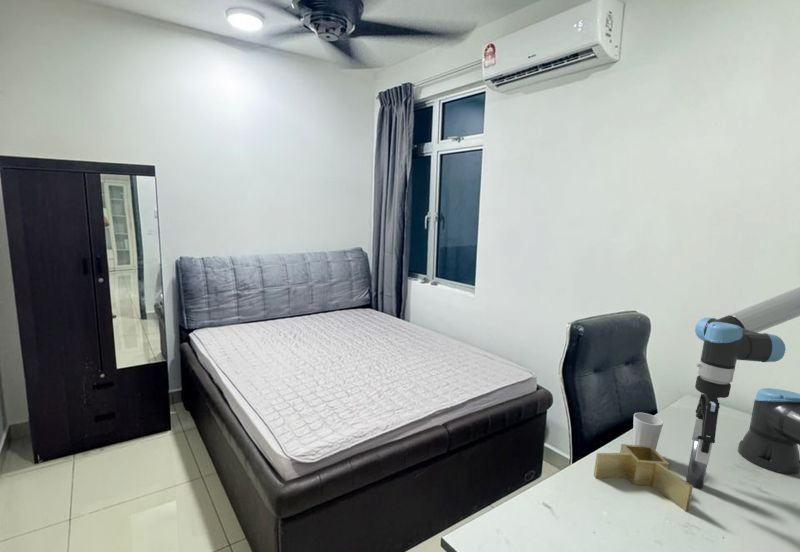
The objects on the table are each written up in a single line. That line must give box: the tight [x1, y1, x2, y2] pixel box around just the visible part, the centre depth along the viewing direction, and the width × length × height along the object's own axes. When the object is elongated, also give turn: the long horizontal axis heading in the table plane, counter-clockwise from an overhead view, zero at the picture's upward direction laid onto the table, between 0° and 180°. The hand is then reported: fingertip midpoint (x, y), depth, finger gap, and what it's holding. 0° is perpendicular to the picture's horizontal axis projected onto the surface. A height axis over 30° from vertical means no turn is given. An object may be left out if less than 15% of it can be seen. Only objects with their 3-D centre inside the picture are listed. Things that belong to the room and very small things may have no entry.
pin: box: [685, 438, 708, 490], centre depth 118 cm, size 4×4×13 cm
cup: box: [631, 412, 664, 451], centre depth 132 cm, size 8×8×12 cm
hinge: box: [593, 443, 694, 512], centre depth 116 cm, size 19×18×7 cm
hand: (699, 451), depth 117 cm, fingers open, 13 cm apart
